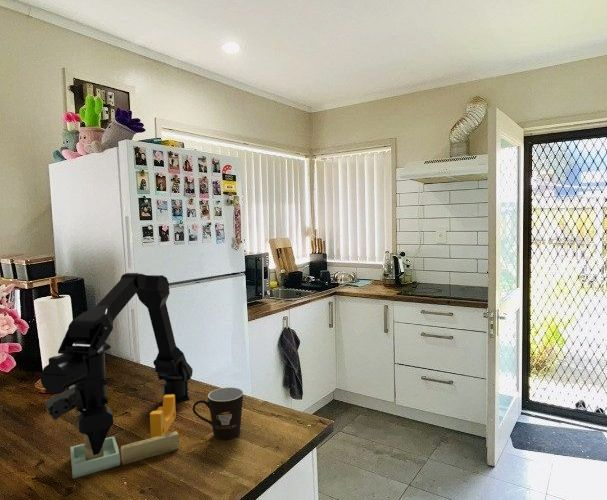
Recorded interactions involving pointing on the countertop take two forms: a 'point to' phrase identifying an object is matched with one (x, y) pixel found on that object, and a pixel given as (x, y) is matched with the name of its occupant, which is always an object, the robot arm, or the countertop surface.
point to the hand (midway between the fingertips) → (94, 444)
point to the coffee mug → (224, 412)
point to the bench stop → (149, 447)
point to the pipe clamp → (163, 416)
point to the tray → (94, 465)
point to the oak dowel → (90, 450)
